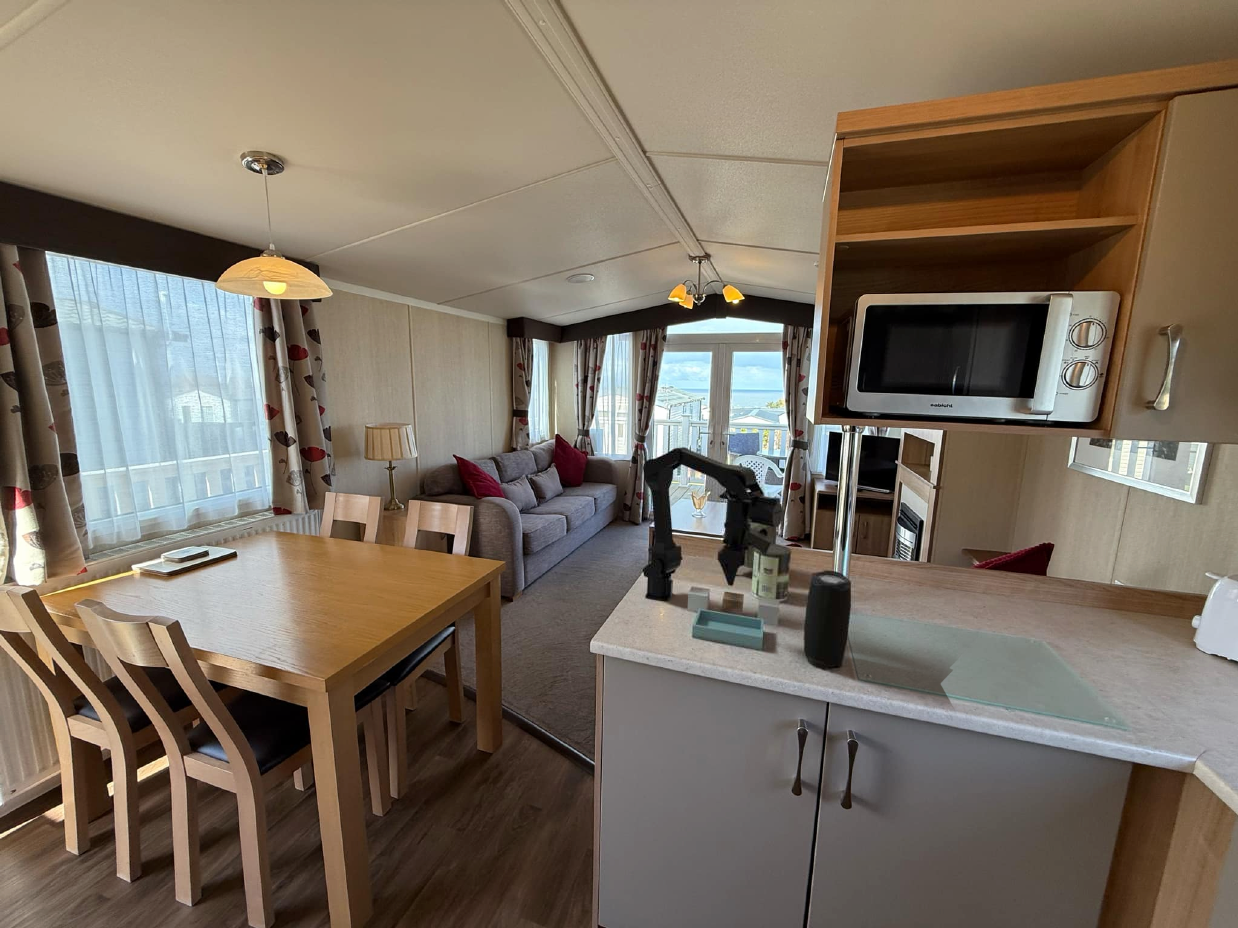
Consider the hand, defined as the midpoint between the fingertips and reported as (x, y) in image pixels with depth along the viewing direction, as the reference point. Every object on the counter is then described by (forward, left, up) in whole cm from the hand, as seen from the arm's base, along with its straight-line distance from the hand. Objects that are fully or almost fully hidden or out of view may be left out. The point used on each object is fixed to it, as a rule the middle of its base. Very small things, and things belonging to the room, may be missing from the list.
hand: (732, 578), depth 121 cm
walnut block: (0, +5, -12) cm, 13 cm away
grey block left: (-9, +5, -12) cm, 16 cm away
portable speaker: (+21, -11, -12) cm, 27 cm away
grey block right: (+9, +5, -12) cm, 16 cm away
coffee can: (+9, +22, -12) cm, 27 cm away
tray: (0, -6, -12) cm, 13 cm away
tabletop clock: (+3, +37, -12) cm, 39 cm away
